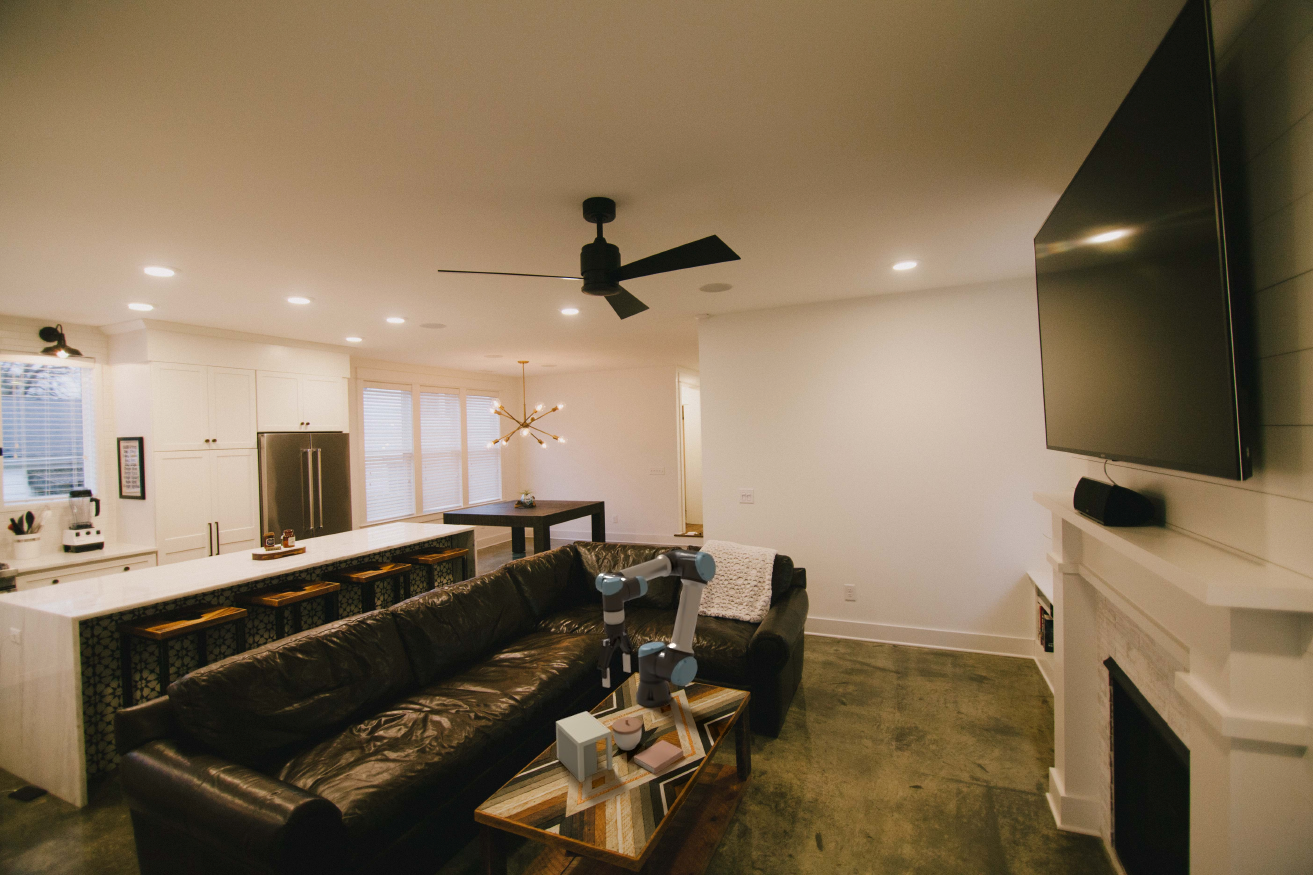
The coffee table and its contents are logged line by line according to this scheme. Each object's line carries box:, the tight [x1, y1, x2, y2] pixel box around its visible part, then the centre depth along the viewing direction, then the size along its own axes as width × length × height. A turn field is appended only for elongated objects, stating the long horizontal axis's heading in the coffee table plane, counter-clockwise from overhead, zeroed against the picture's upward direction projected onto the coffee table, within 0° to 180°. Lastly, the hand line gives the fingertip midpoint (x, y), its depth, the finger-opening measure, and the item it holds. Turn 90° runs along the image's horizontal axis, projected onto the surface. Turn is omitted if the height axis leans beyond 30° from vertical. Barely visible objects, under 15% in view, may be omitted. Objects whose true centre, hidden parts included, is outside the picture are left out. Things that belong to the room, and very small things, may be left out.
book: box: [633, 739, 684, 775], centre depth 185 cm, size 14×10×2 cm
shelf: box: [555, 710, 614, 783], centre depth 185 cm, size 12×18×12 cm, turn 35°
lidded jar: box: [611, 716, 643, 751], centre depth 195 cm, size 11×11×9 cm
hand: (617, 678), depth 198 cm, fingers open, 13 cm apart
